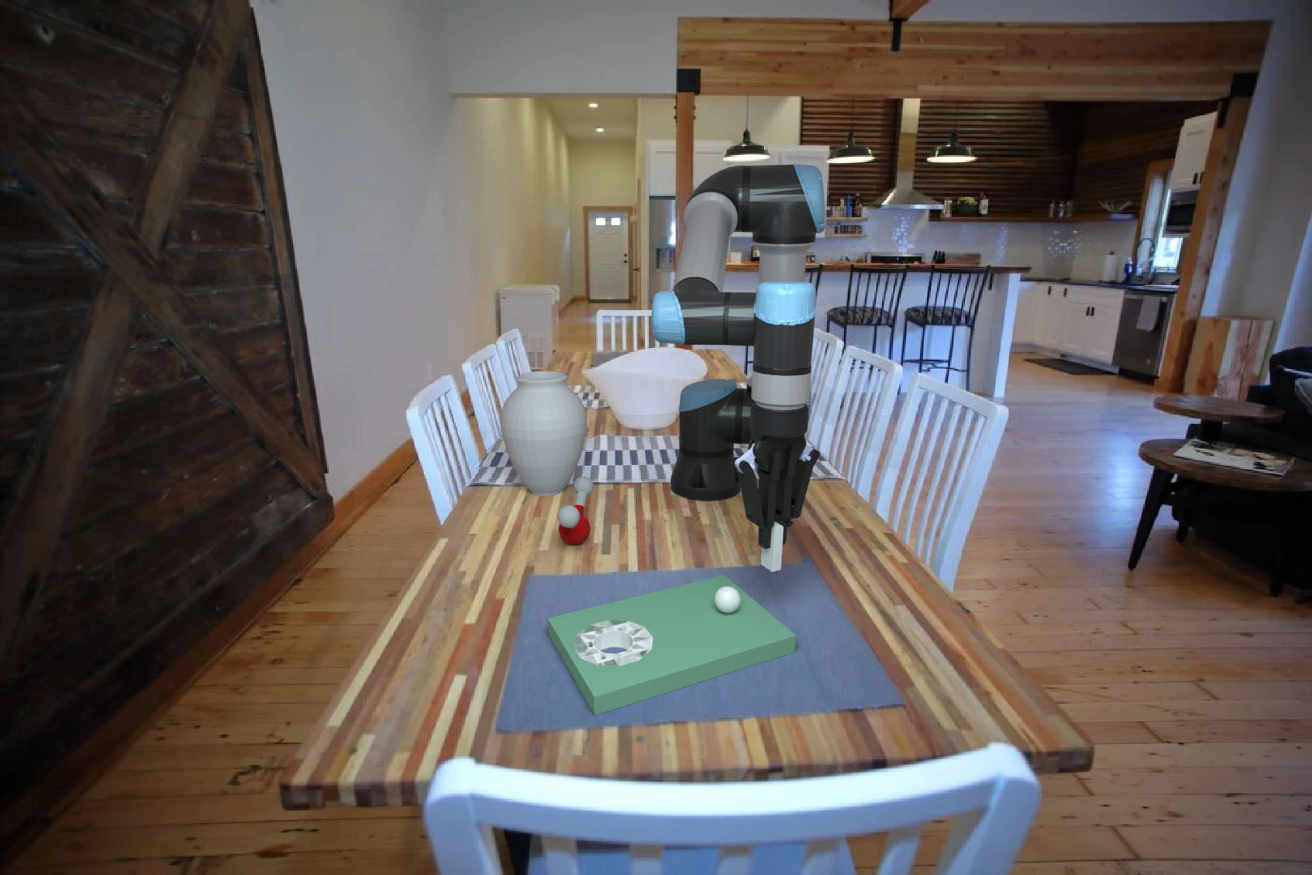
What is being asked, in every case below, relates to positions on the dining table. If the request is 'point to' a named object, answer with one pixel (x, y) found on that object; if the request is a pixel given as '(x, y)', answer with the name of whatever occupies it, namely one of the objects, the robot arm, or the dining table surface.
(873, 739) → the dining table surface
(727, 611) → the ball
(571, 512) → the molecular model
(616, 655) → the putting mat
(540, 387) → the vase
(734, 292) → the robot arm
